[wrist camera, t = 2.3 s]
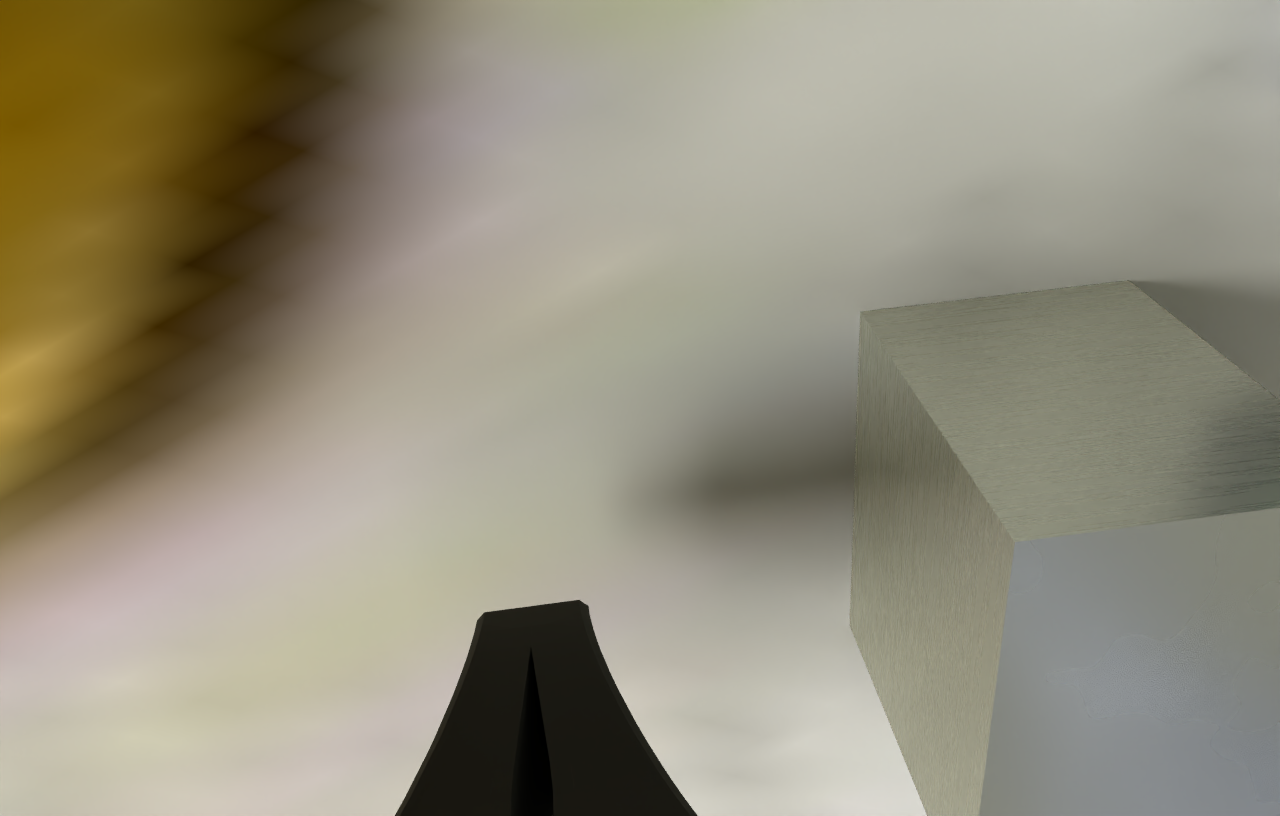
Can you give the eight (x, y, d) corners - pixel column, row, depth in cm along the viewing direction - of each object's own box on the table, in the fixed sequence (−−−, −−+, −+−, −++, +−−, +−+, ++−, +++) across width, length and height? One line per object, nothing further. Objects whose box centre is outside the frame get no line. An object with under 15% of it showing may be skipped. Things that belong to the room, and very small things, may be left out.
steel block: (1072, 592, 19) (1264, 866, 14) (848, 622, 18) (966, 910, 14) (1126, 278, 16) (1395, 493, 11) (859, 309, 15) (1014, 541, 11)
